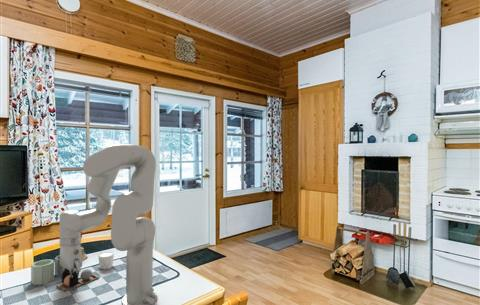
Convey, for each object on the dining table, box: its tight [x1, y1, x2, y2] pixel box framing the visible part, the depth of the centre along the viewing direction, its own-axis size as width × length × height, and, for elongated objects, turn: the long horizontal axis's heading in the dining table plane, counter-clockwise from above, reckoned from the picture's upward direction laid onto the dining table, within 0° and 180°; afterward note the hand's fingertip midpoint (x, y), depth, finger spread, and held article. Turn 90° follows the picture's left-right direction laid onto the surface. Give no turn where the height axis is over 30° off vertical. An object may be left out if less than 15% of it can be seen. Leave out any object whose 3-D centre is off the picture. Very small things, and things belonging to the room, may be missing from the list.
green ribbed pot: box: [30, 259, 55, 286], centre depth 120 cm, size 8×8×9 cm
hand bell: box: [80, 231, 89, 261], centre depth 147 cm, size 8×8×16 cm
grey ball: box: [79, 268, 93, 280], centre depth 121 cm, size 4×4×4 cm
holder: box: [56, 273, 100, 293], centre depth 118 cm, size 7×14×2 cm, turn 146°
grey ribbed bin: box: [54, 254, 75, 278], centre depth 127 cm, size 8×8×9 cm
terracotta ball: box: [64, 275, 71, 286], centre depth 115 cm, size 4×4×4 cm
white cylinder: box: [98, 251, 114, 270], centre depth 134 cm, size 7×7×7 cm
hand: (70, 283), depth 115 cm, fingers open, 5 cm apart
